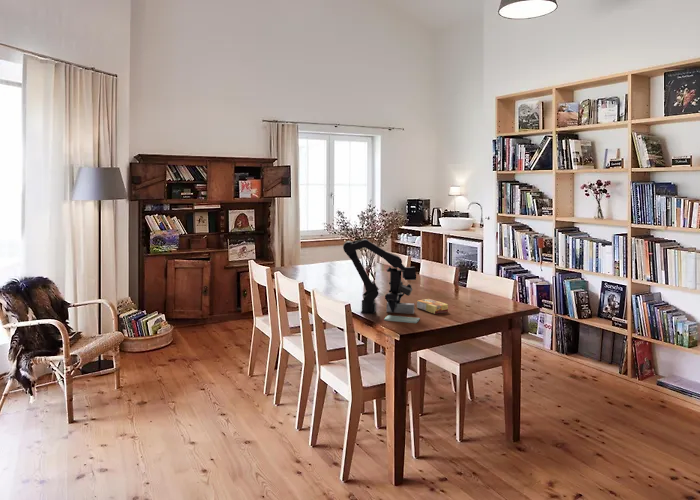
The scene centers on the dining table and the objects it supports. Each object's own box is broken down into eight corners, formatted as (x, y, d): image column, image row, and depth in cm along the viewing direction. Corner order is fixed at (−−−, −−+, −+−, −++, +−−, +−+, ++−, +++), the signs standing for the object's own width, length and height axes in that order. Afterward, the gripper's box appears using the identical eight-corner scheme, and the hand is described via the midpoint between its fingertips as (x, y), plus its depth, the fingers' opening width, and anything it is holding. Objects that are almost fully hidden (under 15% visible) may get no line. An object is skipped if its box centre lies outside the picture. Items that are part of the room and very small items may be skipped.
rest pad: (384, 320, 263) (384, 318, 263) (388, 316, 270) (388, 315, 270) (416, 323, 258) (416, 321, 258) (419, 319, 265) (419, 318, 264)
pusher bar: (386, 312, 279) (386, 303, 278) (387, 311, 282) (387, 301, 281) (413, 314, 275) (413, 304, 275) (414, 313, 278) (414, 303, 277)
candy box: (448, 312, 279) (429, 306, 292) (448, 304, 279) (429, 298, 292) (434, 314, 275) (416, 307, 288) (434, 306, 274) (416, 300, 287)
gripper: (406, 284, 266) (406, 315, 268) (415, 277, 283) (414, 306, 285) (384, 283, 269) (384, 313, 271) (394, 276, 287) (394, 305, 289)
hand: (395, 309), depth 279 cm, fingers open, 9 cm apart
